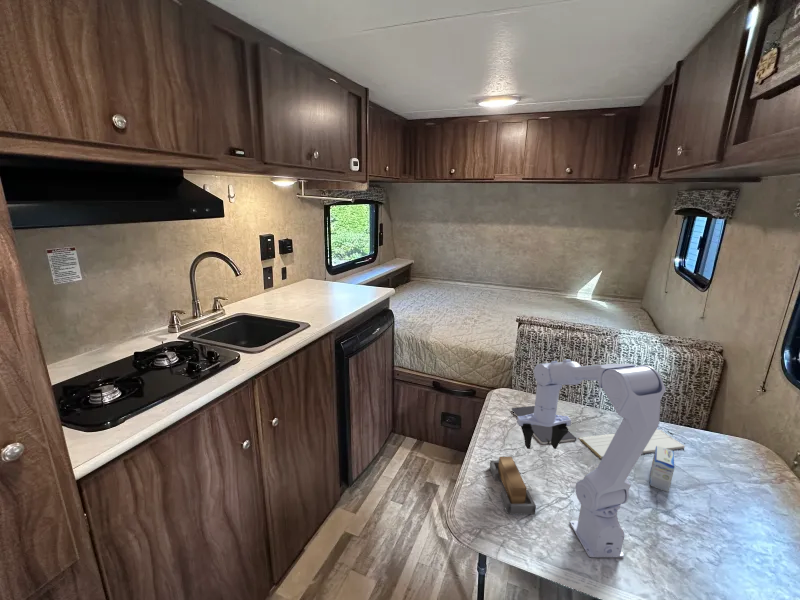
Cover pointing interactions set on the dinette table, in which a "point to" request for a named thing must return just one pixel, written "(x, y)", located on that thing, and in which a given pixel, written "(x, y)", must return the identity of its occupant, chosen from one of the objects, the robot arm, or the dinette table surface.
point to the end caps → (510, 508)
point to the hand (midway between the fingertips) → (540, 446)
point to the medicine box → (662, 468)
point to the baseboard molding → (658, 439)
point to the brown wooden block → (512, 480)
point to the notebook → (541, 427)
